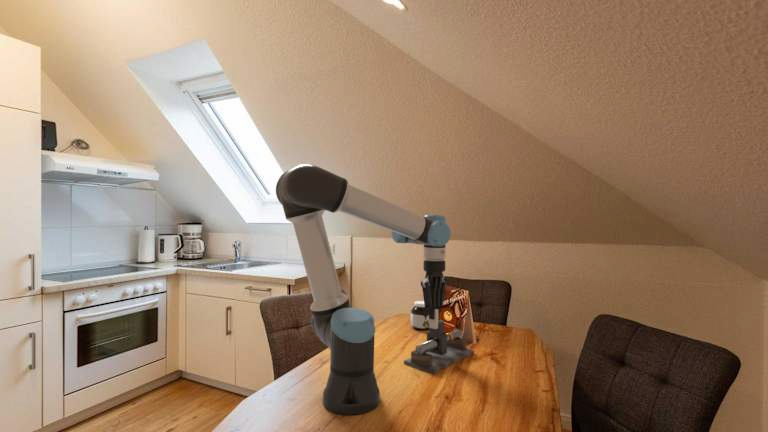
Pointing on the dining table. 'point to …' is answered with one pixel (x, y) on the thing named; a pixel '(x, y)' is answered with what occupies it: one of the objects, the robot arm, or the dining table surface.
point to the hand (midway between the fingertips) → (433, 327)
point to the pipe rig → (440, 357)
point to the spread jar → (420, 316)
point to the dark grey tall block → (438, 335)
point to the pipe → (437, 342)
